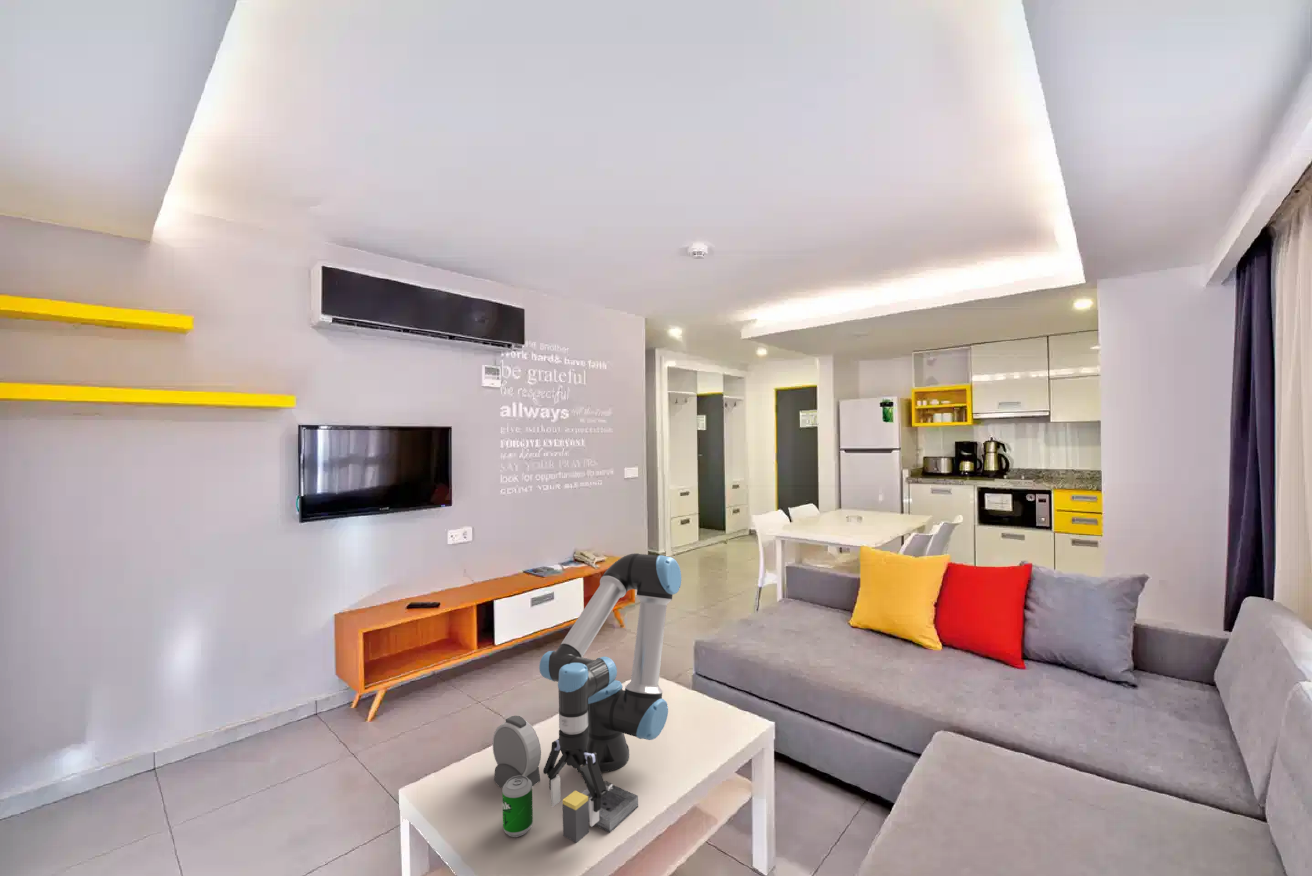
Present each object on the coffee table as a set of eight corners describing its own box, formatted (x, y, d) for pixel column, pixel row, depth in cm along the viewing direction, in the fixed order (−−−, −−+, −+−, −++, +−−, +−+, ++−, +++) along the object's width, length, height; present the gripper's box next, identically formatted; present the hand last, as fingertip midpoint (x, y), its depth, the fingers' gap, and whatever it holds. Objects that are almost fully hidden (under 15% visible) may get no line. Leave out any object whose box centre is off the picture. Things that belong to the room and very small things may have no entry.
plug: (563, 836, 137) (562, 800, 137) (575, 825, 141) (575, 790, 141) (576, 843, 135) (575, 806, 135) (589, 832, 138) (588, 796, 139)
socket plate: (570, 812, 146) (569, 799, 146) (599, 789, 156) (599, 776, 156) (609, 832, 138) (609, 818, 138) (638, 807, 148) (637, 793, 148)
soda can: (535, 818, 144) (534, 773, 144) (529, 838, 137) (528, 790, 137) (507, 820, 144) (506, 774, 144) (499, 840, 136) (498, 792, 137)
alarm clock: (548, 779, 161) (547, 718, 162) (522, 798, 153) (521, 733, 153) (512, 763, 170) (511, 705, 171) (485, 780, 162) (484, 718, 162)
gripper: (529, 721, 143) (529, 803, 142) (600, 748, 128) (601, 840, 127) (550, 710, 149) (551, 789, 148) (620, 735, 134) (621, 823, 133)
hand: (574, 813), depth 138 cm, fingers open, 13 cm apart
